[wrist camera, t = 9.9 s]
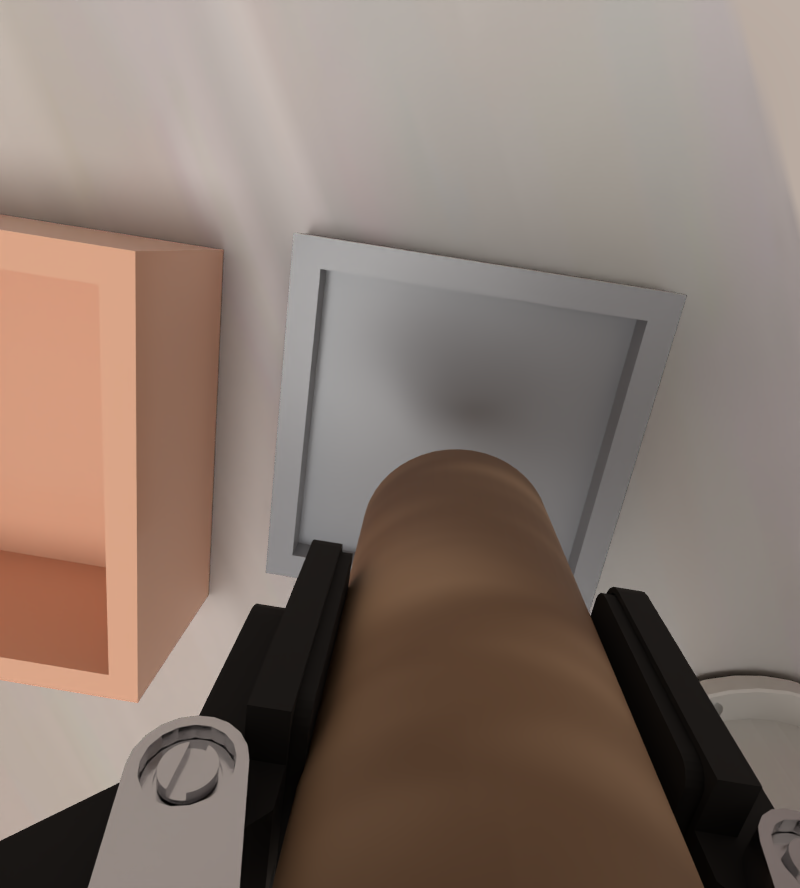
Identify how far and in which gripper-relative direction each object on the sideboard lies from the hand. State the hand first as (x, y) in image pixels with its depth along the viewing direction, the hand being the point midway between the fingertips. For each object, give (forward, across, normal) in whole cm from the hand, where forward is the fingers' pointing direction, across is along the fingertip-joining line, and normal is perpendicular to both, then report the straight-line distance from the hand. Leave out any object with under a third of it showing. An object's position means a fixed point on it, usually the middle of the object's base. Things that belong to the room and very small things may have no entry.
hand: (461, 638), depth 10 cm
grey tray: (+13, 0, 0) cm, 13 cm away
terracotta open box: (+13, +17, +2) cm, 21 cm away
